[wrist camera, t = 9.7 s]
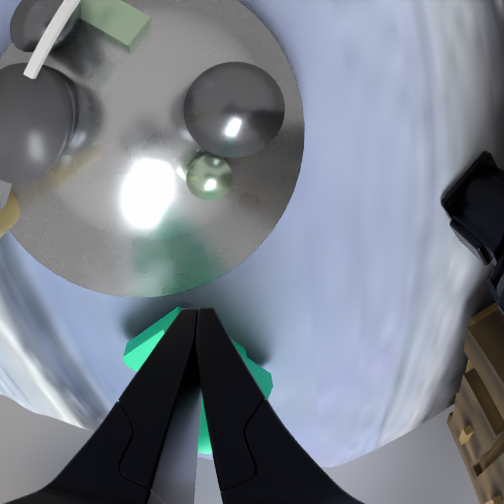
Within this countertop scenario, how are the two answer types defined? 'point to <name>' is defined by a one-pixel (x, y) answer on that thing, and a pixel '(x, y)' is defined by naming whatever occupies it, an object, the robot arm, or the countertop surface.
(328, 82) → the countertop surface
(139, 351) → the camera mount
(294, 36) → the countertop surface
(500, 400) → the crate
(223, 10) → the plate
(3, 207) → the tan post with disc
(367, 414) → the countertop surface
